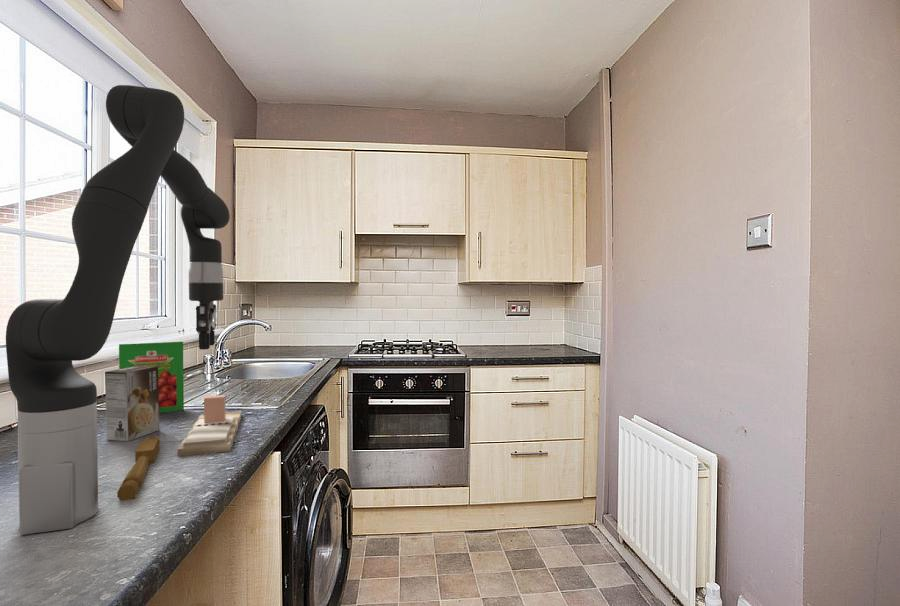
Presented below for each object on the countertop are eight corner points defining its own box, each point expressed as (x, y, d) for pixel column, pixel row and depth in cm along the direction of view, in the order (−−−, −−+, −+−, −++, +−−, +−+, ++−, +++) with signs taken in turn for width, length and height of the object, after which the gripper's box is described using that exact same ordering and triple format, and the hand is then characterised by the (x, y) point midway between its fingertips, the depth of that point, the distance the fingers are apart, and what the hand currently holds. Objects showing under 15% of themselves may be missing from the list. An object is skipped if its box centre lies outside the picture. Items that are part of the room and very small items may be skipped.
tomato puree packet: (119, 417, 129) (118, 344, 129) (120, 416, 130) (119, 344, 130) (183, 410, 137) (183, 341, 137) (183, 409, 138) (183, 341, 138)
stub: (231, 426, 115) (231, 397, 115) (194, 429, 113) (194, 400, 112) (234, 420, 121) (233, 393, 121) (199, 422, 118) (198, 395, 118)
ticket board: (230, 450, 102) (229, 438, 102) (177, 456, 99) (177, 443, 99) (241, 416, 130) (241, 406, 130) (201, 419, 127) (200, 409, 127)
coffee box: (138, 428, 118) (137, 365, 118) (160, 430, 117) (159, 366, 117) (105, 440, 109) (104, 371, 109) (128, 441, 108) (127, 372, 108)
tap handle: (115, 486, 77) (145, 435, 104) (116, 504, 77) (145, 448, 104) (137, 482, 78) (161, 433, 106) (138, 501, 79) (161, 446, 106)
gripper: (219, 281, 110) (220, 350, 111) (226, 281, 124) (227, 343, 124) (183, 280, 108) (184, 351, 108) (194, 281, 121) (195, 344, 122)
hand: (207, 347), depth 116 cm, fingers open, 8 cm apart
